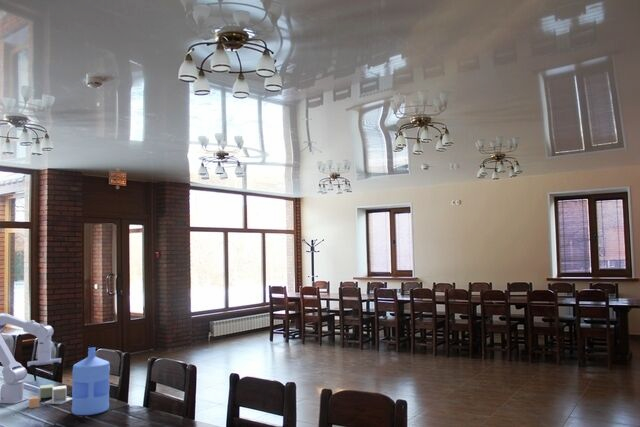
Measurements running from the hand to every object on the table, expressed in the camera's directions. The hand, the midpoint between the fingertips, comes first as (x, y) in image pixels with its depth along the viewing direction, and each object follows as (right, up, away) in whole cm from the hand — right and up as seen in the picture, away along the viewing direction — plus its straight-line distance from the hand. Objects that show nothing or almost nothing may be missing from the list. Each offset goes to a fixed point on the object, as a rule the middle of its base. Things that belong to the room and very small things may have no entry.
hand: (44, 379), depth 255 cm
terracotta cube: (0, -10, -9) cm, 13 cm away
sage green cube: (-1, -11, +4) cm, 12 cm away
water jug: (+30, -9, -17) cm, 36 cm away
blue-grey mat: (+7, -10, 0) cm, 13 cm away
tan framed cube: (+7, -10, 0) cm, 12 cm away
